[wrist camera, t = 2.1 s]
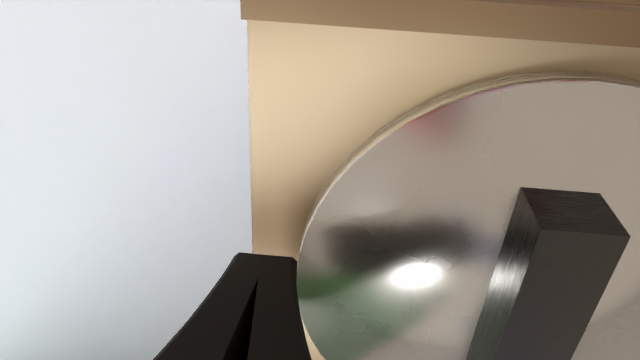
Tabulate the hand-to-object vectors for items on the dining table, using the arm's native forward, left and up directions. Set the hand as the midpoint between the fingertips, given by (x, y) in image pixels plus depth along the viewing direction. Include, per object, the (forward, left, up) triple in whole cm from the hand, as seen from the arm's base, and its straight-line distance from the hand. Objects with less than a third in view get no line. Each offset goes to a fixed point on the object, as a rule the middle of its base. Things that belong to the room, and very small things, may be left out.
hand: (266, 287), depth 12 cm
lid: (0, -6, -1) cm, 6 cm away
